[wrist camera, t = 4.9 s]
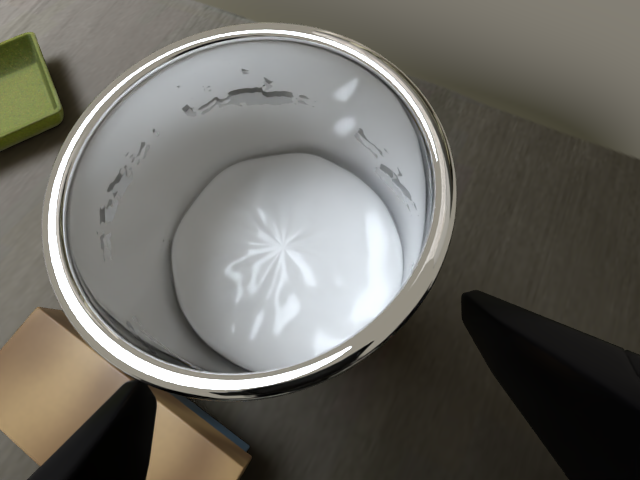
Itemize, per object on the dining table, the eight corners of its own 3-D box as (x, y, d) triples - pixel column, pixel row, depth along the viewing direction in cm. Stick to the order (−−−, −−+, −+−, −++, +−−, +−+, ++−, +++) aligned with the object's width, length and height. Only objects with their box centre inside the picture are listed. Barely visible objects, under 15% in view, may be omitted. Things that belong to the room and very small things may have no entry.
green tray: (54, 51, 27) (32, 28, 25) (84, 128, 24) (62, 108, 22) (-54, 97, 26) (-86, 77, 24) (-34, 183, 23) (-69, 167, 21)
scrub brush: (261, 446, 17) (244, 468, 14) (204, 542, 16) (171, 590, 13) (85, 313, 20) (36, 306, 17) (25, 387, 19) (-39, 394, 15)
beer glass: (305, 225, 21) (241, -39, 7) (395, 295, 19) (561, 140, 5) (228, 311, 19) (-61, 203, 5) (319, 395, 18) (252, 568, 4)
